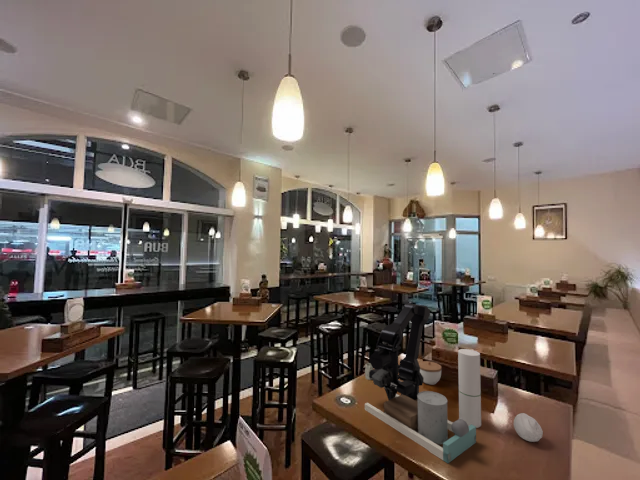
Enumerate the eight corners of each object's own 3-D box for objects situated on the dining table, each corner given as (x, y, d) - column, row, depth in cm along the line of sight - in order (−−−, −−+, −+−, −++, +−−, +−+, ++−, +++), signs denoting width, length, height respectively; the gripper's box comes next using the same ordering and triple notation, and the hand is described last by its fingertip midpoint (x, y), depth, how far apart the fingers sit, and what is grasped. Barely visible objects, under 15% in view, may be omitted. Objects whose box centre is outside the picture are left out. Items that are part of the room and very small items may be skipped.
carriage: (403, 407, 114) (402, 394, 114) (429, 421, 104) (429, 407, 104) (384, 416, 108) (383, 402, 108) (410, 432, 98) (410, 417, 98)
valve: (362, 380, 139) (386, 385, 133) (362, 366, 139) (386, 371, 133) (367, 375, 145) (391, 380, 139) (367, 361, 145) (390, 366, 139)
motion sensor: (537, 450, 90) (536, 425, 90) (509, 437, 96) (509, 414, 96) (545, 440, 94) (545, 416, 95) (519, 429, 101) (518, 406, 101)
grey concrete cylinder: (413, 426, 102) (413, 391, 102) (439, 426, 102) (439, 390, 103) (424, 444, 92) (424, 405, 93) (453, 444, 92) (453, 404, 93)
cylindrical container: (479, 418, 107) (477, 350, 108) (483, 429, 100) (481, 356, 101) (458, 414, 109) (456, 348, 110) (460, 425, 103) (459, 354, 104)
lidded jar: (413, 377, 142) (413, 358, 143) (434, 376, 143) (434, 357, 144) (424, 387, 132) (423, 366, 132) (446, 386, 133) (446, 365, 133)
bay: (393, 398, 122) (392, 376, 122) (480, 444, 92) (479, 415, 93) (364, 410, 112) (364, 386, 112) (452, 466, 83) (451, 434, 83)
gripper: (359, 358, 116) (359, 398, 115) (395, 375, 100) (395, 421, 100) (378, 353, 122) (378, 390, 122) (415, 368, 107) (415, 411, 106)
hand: (390, 402), depth 112 cm, fingers closed
